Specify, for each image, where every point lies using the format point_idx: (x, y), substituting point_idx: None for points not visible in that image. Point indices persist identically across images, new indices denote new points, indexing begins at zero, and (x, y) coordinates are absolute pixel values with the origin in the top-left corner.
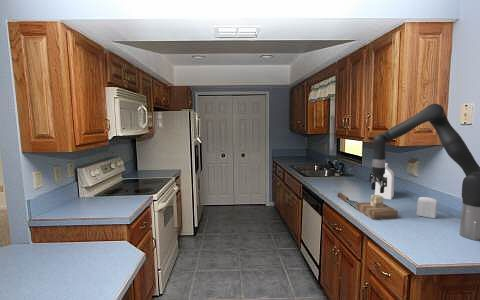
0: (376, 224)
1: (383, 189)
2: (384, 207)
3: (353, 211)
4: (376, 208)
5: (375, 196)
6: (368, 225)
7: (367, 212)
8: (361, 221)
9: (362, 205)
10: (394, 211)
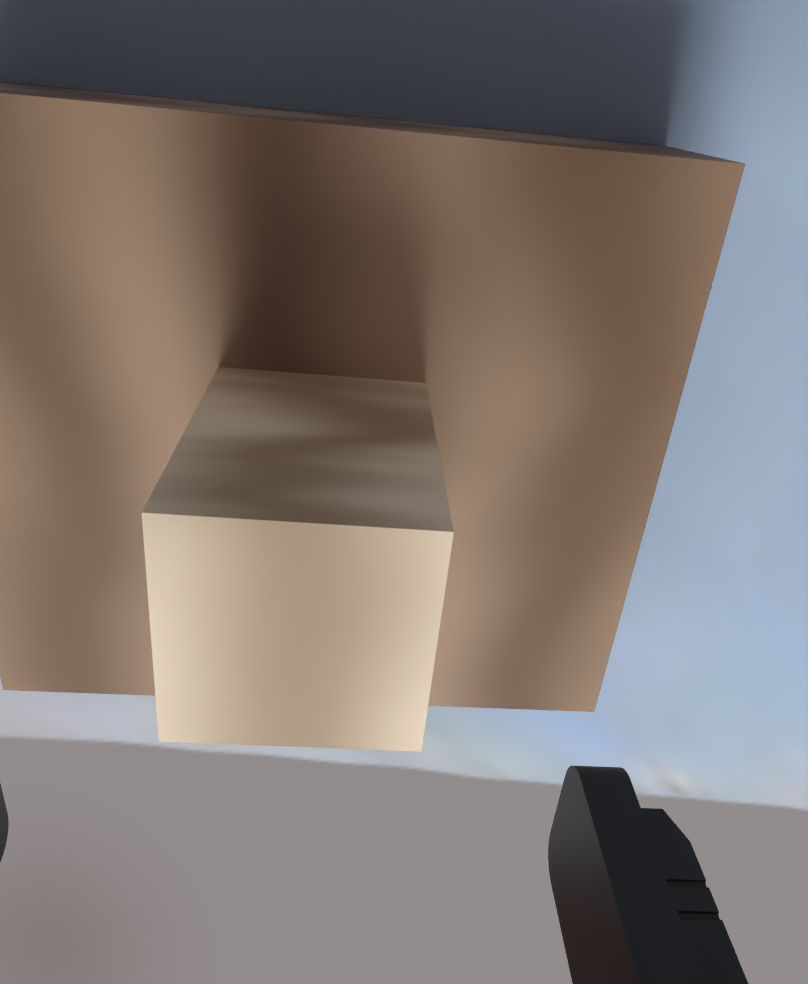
0: (715, 674)
1: (725, 975)
2: (433, 334)
3: None
4: None
5: (344, 723)
6: (693, 772)
7: None
8: (549, 775)
9: None
10: (710, 260)
